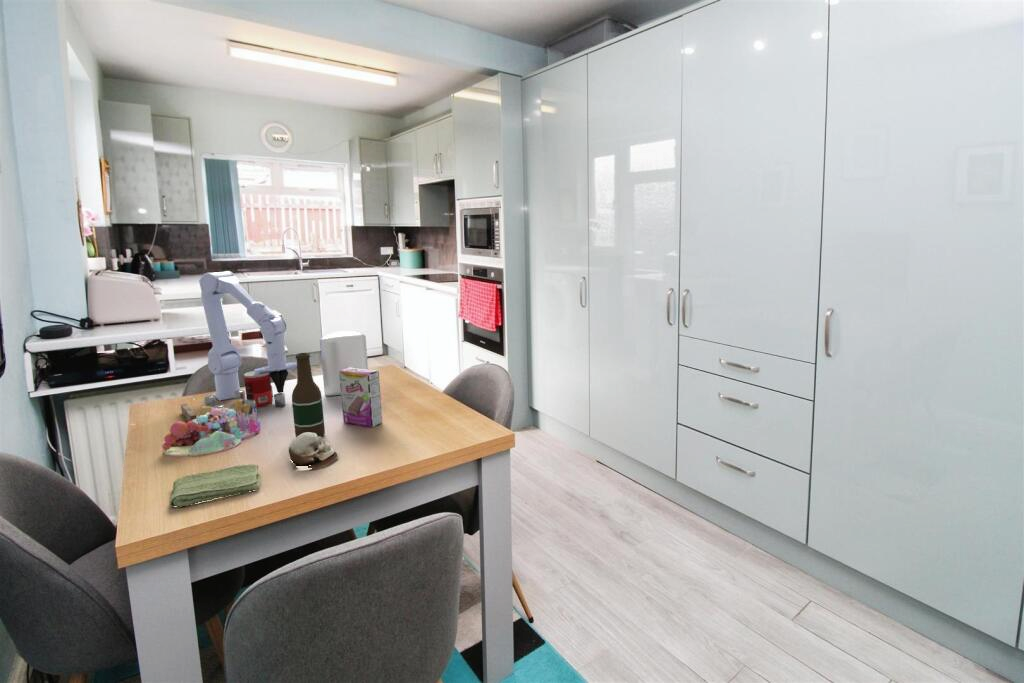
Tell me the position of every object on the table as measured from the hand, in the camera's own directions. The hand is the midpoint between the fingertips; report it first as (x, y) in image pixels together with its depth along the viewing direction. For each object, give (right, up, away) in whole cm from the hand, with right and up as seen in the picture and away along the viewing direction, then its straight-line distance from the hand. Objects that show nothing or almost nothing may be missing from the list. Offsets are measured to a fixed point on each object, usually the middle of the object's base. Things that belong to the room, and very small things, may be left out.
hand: (280, 392), depth 188 cm
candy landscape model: (-4, -10, -34) cm, 35 cm away
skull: (+30, -13, -51) cm, 61 cm away
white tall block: (+21, -1, +10) cm, 24 cm away
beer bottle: (+23, -10, -35) cm, 43 cm away
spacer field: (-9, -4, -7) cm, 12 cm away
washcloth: (+14, -16, -65) cm, 68 cm away
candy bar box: (+35, -7, -25) cm, 43 cm away
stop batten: (-21, -7, -17) cm, 28 cm away
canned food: (-5, -4, -4) cm, 7 cm away
